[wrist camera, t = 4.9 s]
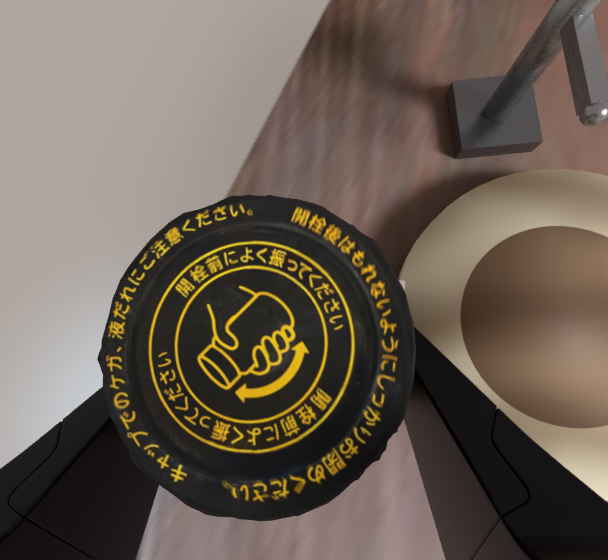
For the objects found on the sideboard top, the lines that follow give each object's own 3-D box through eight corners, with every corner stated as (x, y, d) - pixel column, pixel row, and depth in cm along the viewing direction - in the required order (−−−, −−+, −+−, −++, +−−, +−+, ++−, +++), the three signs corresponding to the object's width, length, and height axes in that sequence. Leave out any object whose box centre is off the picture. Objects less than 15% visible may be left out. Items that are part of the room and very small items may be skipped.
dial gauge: (539, 196, 21) (828, 9, 9) (461, 202, 21) (631, 34, 9) (519, 85, 22) (748, -214, 10) (446, 94, 23) (578, -183, 10)
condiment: (248, 263, 17) (94, 122, 6) (404, 281, 17) (603, 166, 5) (227, 400, 16) (-22, 588, 4) (392, 425, 16) (611, 717, 4)
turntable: (757, 485, 17) (799, 501, 15) (408, 488, 18) (414, 502, 17) (677, 167, 19) (706, 153, 18) (380, 194, 21) (383, 183, 19)
